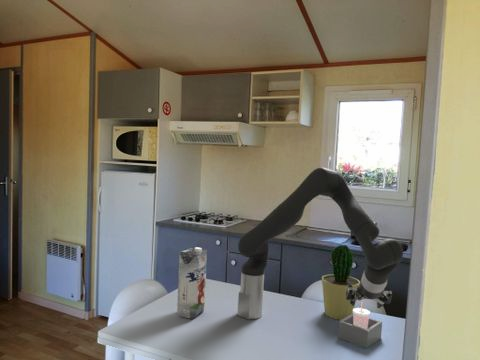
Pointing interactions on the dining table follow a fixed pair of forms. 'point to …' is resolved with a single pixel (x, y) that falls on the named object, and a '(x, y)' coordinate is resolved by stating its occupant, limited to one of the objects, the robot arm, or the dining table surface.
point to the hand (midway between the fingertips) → (365, 304)
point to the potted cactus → (339, 284)
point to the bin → (360, 331)
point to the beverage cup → (361, 317)
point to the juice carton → (191, 282)
